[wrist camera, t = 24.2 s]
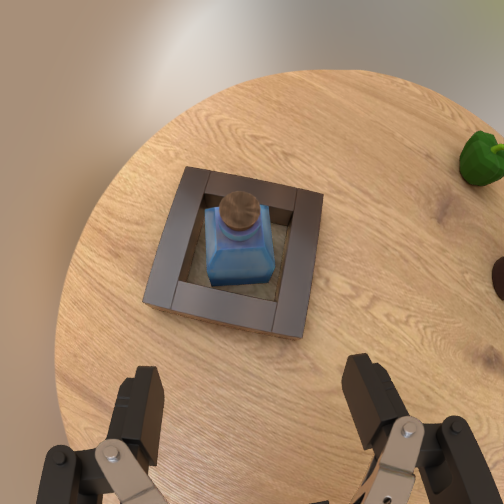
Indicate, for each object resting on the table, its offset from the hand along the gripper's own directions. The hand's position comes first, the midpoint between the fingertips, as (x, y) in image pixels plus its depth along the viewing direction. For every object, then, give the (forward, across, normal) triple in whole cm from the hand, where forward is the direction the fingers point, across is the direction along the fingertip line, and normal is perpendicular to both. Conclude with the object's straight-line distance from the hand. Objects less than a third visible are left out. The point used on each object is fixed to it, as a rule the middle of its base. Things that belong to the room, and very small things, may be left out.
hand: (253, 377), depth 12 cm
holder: (+22, 0, +6) cm, 23 cm away
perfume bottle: (+23, 0, +6) cm, 23 cm away
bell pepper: (+32, -40, -4) cm, 51 cm away
